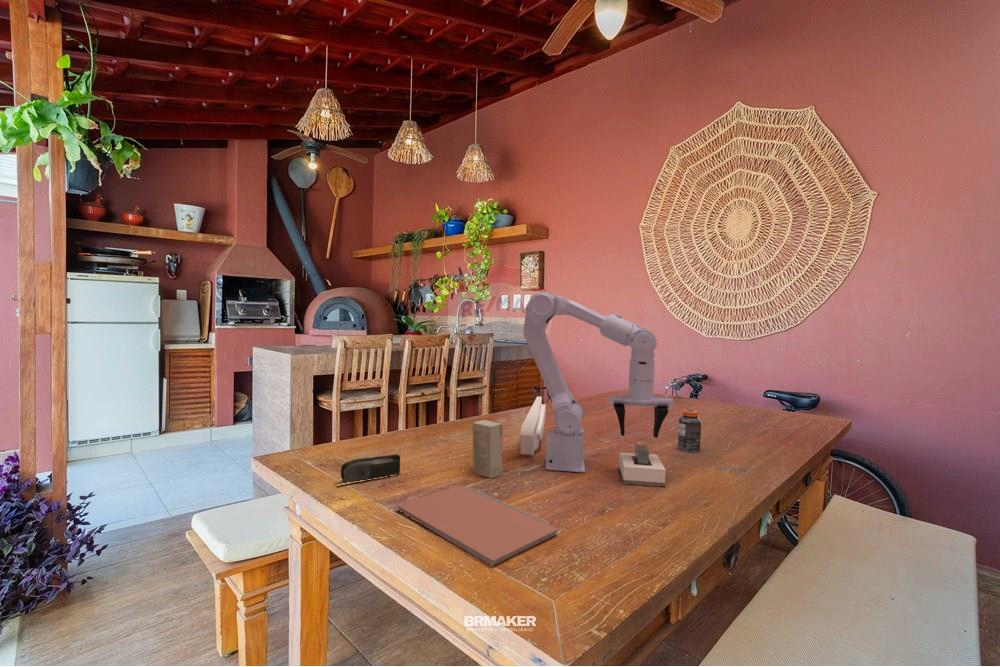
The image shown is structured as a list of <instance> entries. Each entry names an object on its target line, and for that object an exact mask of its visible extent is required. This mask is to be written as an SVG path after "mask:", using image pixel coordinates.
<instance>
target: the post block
mask: <svg viewBox="0 0 1000 667" xmlns="http://www.w3.org/2000/svg"><path fill="white" fill-rule="evenodd" d="M618 454H619V455H618V470H620V471H619V473H621V474H620V476H621V479H622V483H624V484H623V485H628V484H634V485H633V486H641V485H653V486H652V487H655V486H665V487H666V470H667V469H666V468H665V466H664V464H663V463H662V460H661V459H660V458H659V456H658V455H657V454H650V453H649V464H648V465H635V452H619V453H618ZM636 484H638V485H636Z"/></svg>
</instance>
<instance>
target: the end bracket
mask: <svg viewBox="0 0 1000 667" xmlns="http://www.w3.org/2000/svg"><path fill="white" fill-rule="evenodd" d="M634 449H635V450H634V453H635V465H648V464H649V454H650V451H649V448H647V445H643V444H635V446H634Z"/></svg>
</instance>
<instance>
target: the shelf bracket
mask: <svg viewBox="0 0 1000 667" xmlns="http://www.w3.org/2000/svg"><path fill="white" fill-rule="evenodd" d="M542 399H543V397H542V396H539V395H537V396H536V398H535V400H534V402H533V404H532V405H531V407H530V409H529V410H528V413H527V415H526V416H525V419H524V421H523V423H522V425H521V428H520V455H526V456H534V453H535V451H536V450H537V449H539V447H540V446H539V444H540V441H542V440H543V436H544V430H545V429H544V428H545V422H546V413H547V411H546V407H547V406H546V405H547V404H545V403H544V404H543V402H542V401H543V400H542ZM537 451H538V450H537Z"/></svg>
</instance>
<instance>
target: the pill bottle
mask: <svg viewBox="0 0 1000 667" xmlns="http://www.w3.org/2000/svg"><path fill="white" fill-rule="evenodd" d="M698 416H699V411H698V410H696V409H695V410H694V409H689V408H688V409H683V410H682V416H681V417H679V420H678V434H677V436H678V438H677V441H678V442H677V448H678V449H679V451H682V452H686V453H698V452H701V441H702V440H701V438H702V437H701V435H702V433H701V432H702V420H701V419H700V418H699V417H698Z"/></svg>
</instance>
